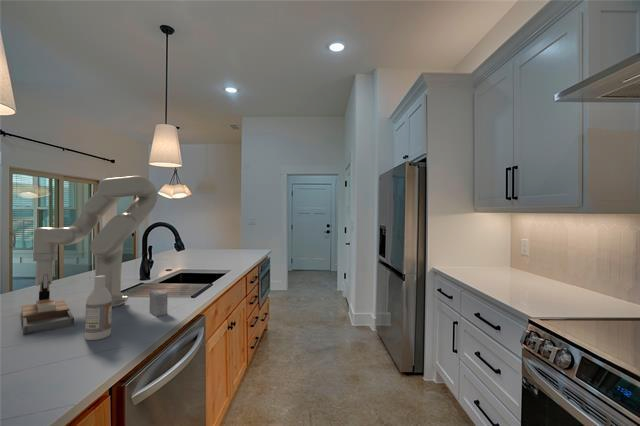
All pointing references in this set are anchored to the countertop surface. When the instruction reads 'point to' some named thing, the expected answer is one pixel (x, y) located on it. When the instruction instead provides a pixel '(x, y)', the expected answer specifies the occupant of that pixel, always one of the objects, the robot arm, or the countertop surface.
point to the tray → (48, 323)
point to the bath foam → (98, 311)
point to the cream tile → (46, 307)
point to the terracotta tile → (44, 301)
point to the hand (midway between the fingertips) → (44, 300)
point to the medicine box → (158, 303)
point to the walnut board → (33, 314)
